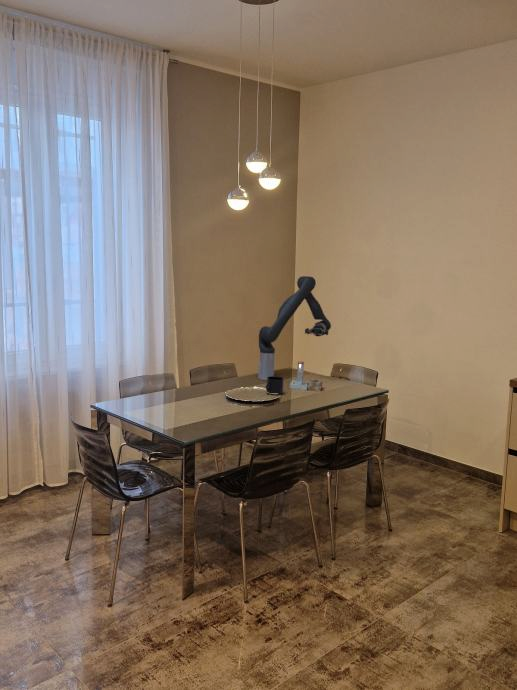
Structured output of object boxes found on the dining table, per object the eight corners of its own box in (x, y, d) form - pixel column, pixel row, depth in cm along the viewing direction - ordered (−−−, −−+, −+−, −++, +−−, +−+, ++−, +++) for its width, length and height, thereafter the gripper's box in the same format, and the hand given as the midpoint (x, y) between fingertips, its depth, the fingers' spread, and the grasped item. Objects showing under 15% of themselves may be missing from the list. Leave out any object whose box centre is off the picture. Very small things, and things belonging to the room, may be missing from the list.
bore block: (306, 389, 370) (307, 381, 369) (308, 386, 378) (309, 378, 377) (320, 391, 368) (320, 383, 367) (322, 388, 376) (322, 380, 375)
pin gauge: (296, 386, 374) (297, 362, 371) (297, 385, 377) (298, 361, 375) (302, 387, 373) (303, 363, 370) (303, 386, 377) (304, 361, 374)
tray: (289, 388, 372) (290, 384, 371) (293, 384, 381) (293, 380, 381) (306, 390, 369) (306, 385, 369) (309, 386, 379) (309, 382, 378)
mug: (259, 393, 358) (260, 378, 356) (274, 390, 366) (275, 375, 365) (271, 397, 351) (272, 381, 350) (286, 393, 360) (286, 378, 358)
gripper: (308, 322, 395) (303, 326, 380) (330, 324, 392) (327, 328, 376) (307, 334, 397) (303, 338, 381) (329, 336, 393) (326, 340, 378)
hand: (315, 333), depth 379 cm, fingers open, 8 cm apart
